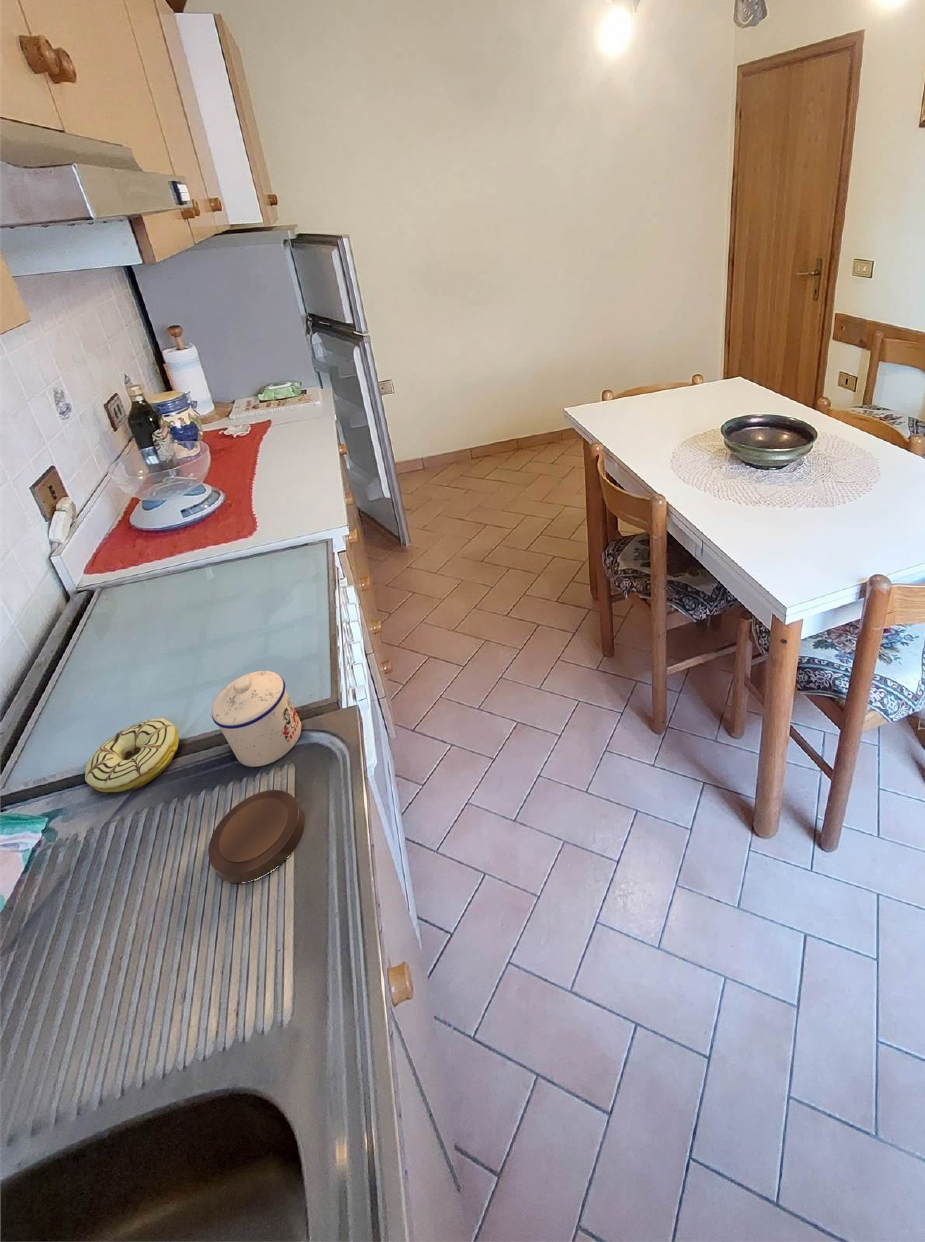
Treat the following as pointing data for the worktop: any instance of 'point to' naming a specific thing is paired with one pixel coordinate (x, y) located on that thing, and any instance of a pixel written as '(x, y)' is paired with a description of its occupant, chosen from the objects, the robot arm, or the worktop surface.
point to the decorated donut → (120, 774)
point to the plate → (256, 836)
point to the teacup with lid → (257, 718)
